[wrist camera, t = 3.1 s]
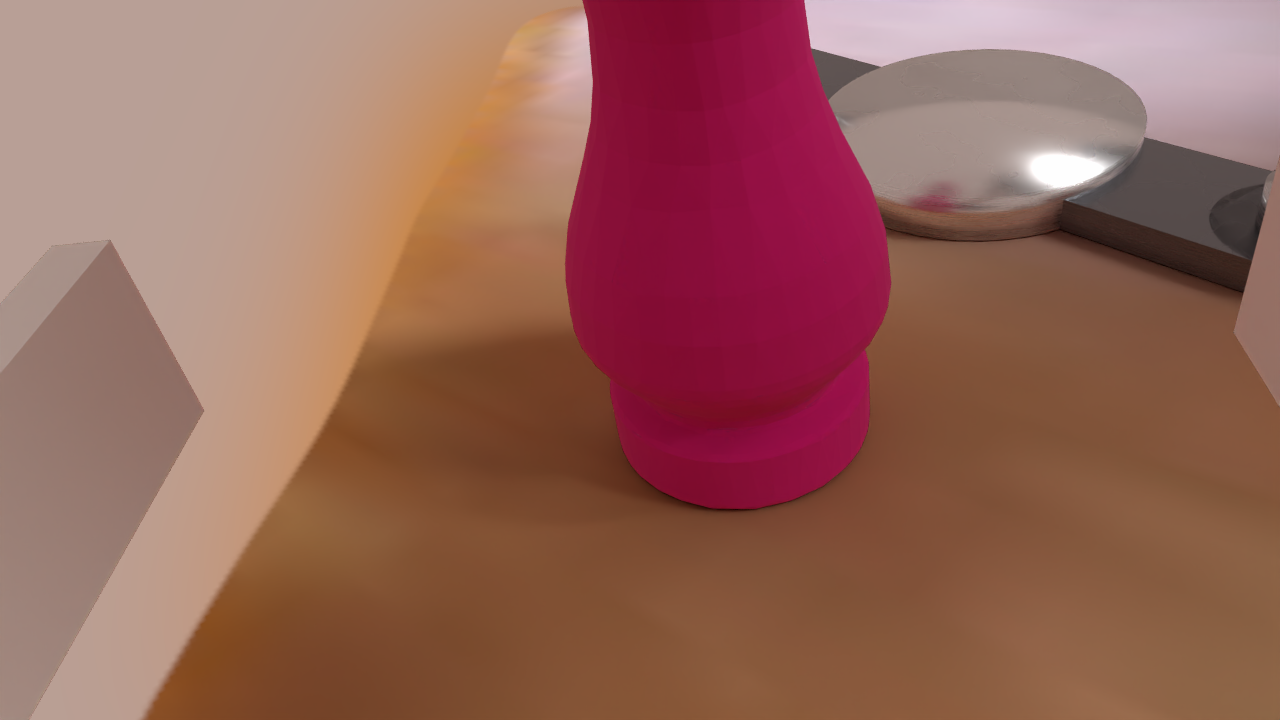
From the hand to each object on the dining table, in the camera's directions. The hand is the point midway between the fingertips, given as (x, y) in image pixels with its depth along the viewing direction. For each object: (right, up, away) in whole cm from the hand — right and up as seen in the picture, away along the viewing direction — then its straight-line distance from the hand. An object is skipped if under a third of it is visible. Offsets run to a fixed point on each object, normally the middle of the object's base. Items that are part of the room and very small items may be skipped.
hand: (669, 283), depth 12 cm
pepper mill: (+2, -3, +14) cm, 15 cm away
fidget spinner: (+11, +6, +22) cm, 25 cm away
